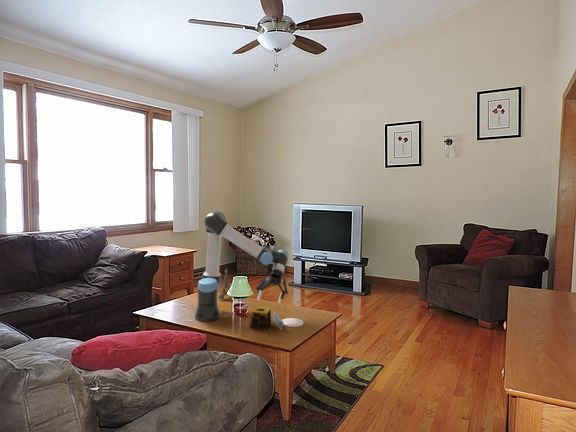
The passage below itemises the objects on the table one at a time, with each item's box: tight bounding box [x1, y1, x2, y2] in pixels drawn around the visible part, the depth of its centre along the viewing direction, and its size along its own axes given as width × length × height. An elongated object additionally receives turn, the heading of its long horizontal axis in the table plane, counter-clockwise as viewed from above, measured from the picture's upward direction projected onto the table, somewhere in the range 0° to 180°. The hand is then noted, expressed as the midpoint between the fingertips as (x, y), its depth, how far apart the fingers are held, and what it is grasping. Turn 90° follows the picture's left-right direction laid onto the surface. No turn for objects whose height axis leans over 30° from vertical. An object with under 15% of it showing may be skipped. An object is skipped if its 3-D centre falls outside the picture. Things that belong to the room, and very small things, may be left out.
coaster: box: [281, 317, 305, 328], centre depth 240 cm, size 14×14×1 cm
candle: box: [250, 306, 272, 331], centre depth 233 cm, size 10×10×10 cm
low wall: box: [272, 311, 284, 331], centre depth 236 cm, size 1×18×5 cm, turn 16°
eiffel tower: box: [217, 264, 233, 303], centre depth 286 cm, size 11×11×25 cm
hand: (268, 301), depth 240 cm, fingers open, 13 cm apart
